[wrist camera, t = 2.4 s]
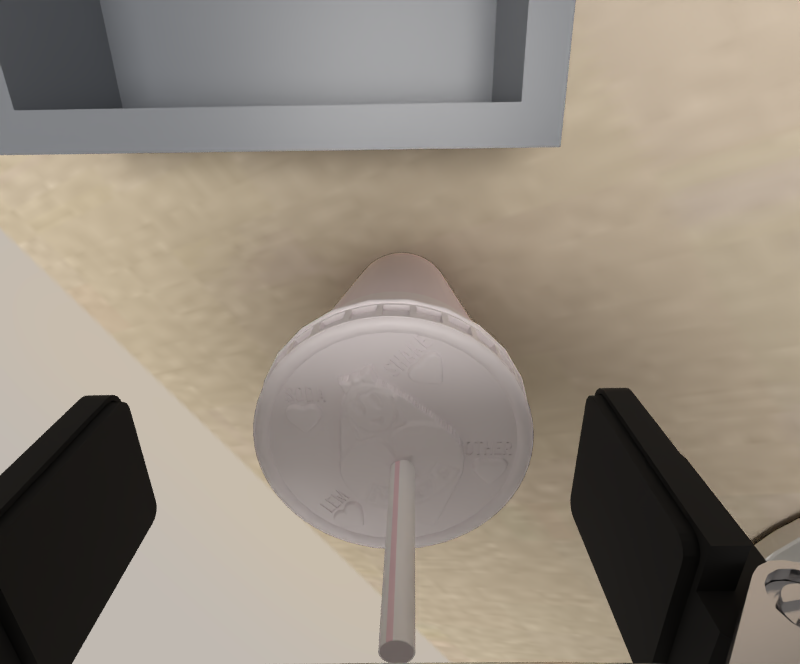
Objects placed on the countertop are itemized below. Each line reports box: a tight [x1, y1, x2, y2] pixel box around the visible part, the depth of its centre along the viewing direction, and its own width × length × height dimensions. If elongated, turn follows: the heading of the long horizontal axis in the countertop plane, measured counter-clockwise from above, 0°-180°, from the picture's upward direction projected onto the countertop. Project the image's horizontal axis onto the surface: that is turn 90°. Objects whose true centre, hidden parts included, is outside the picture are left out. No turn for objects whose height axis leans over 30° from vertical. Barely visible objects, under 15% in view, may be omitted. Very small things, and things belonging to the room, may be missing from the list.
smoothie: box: [253, 253, 534, 663], centre depth 14 cm, size 6×6×14 cm
